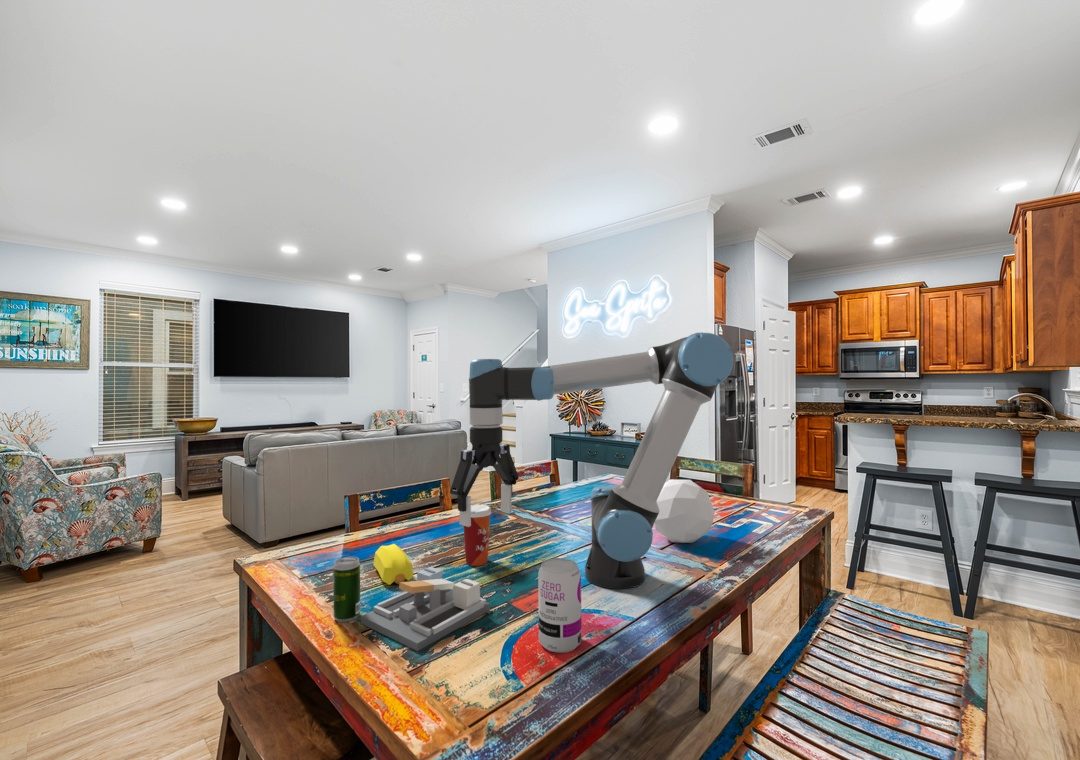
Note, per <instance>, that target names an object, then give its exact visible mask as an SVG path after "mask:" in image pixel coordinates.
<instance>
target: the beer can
mask: <svg viewBox="0 0 1080 760" xmlns="http://www.w3.org/2000/svg"><path fill="white" fill-rule="evenodd" d="M332 571H333V572H332V573H333V574H332V575H333V578H332V581H333V582H332V583H333V589H332V590H333V592H332V593H333V600H332V601H333V617H334V620H335V621H336V622H338V623H347V622H348V623H349V622H352V621H354V620H356V619H357V618H359V616H360V614H361V609H362V608H361V563H360V558H359V557H357V556H346V557H345V556H344V557H342V558H341V557H340V558H338V559H336V560H334V565H333V567H332Z"/></svg>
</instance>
